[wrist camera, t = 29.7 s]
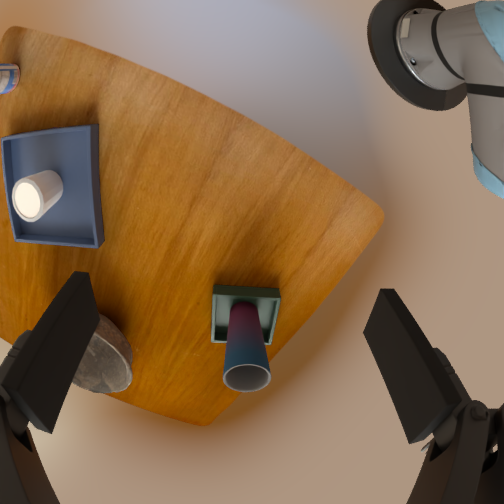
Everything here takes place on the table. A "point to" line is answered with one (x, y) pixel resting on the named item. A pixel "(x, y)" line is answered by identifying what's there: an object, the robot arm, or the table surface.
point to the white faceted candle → (36, 194)
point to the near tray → (72, 175)
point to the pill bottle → (8, 77)
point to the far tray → (230, 295)
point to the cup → (245, 350)
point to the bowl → (105, 360)
